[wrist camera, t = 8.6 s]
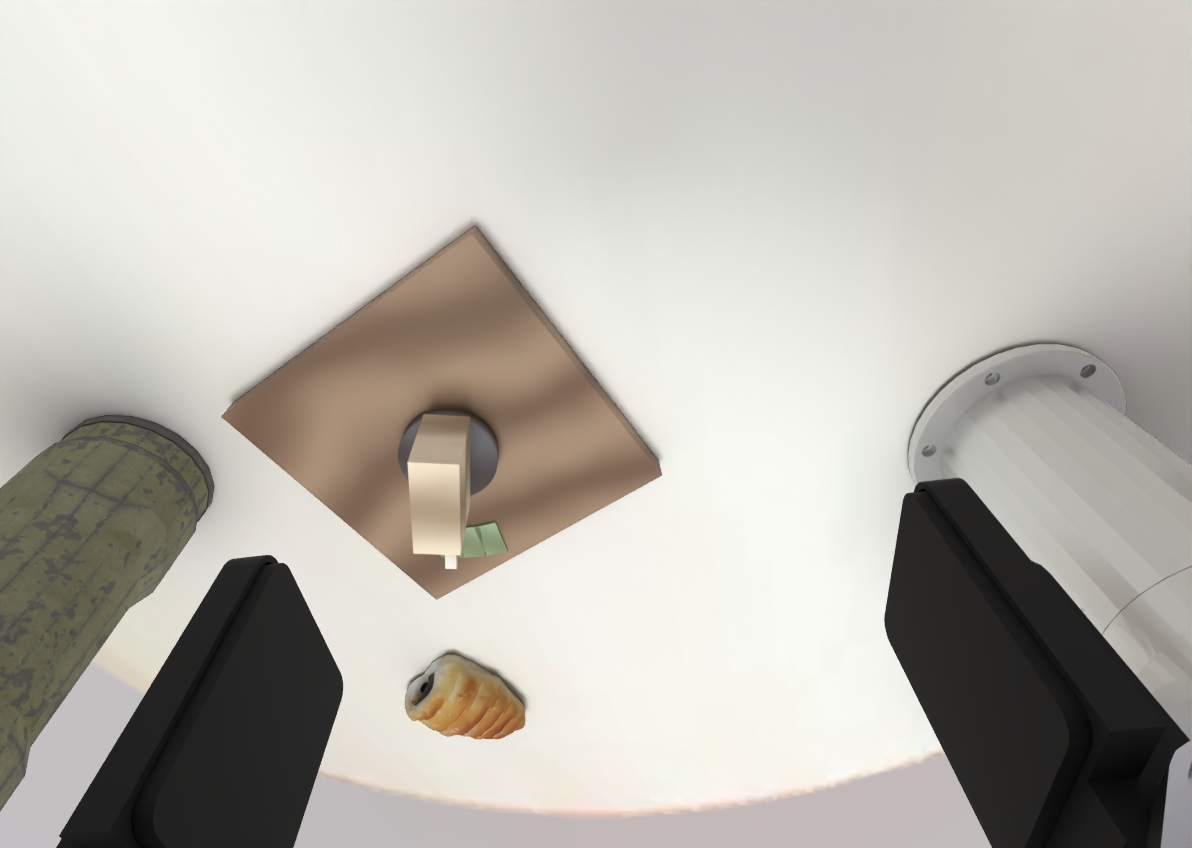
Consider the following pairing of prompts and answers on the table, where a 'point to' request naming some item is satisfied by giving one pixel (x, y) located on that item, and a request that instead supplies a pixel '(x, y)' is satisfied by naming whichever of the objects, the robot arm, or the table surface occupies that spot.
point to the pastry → (464, 700)
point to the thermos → (83, 559)
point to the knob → (445, 477)
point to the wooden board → (448, 381)
